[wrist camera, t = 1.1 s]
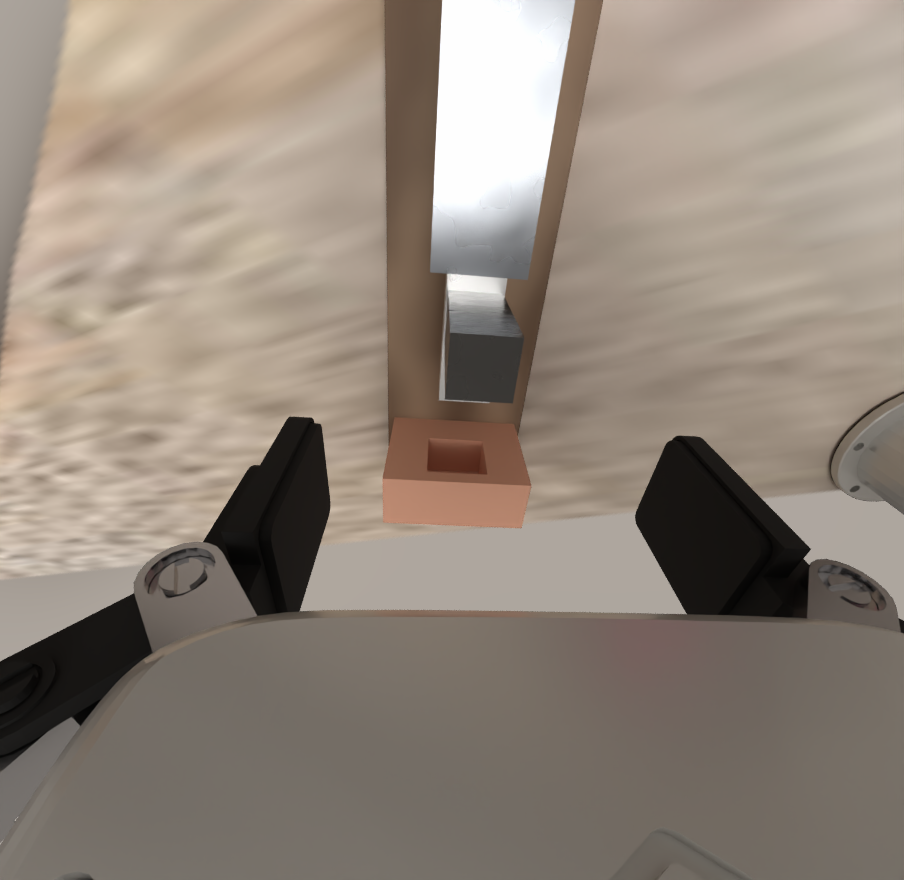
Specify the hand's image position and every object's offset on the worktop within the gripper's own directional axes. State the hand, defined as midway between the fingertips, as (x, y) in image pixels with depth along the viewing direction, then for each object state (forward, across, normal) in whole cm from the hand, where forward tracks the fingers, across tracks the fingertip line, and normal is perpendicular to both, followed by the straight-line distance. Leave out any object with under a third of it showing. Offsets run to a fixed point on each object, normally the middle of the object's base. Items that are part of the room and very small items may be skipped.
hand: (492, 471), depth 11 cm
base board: (+22, -1, 0) cm, 22 cm away
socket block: (+21, -1, +13) cm, 24 cm away
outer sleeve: (+21, -1, -9) cm, 22 cm away
